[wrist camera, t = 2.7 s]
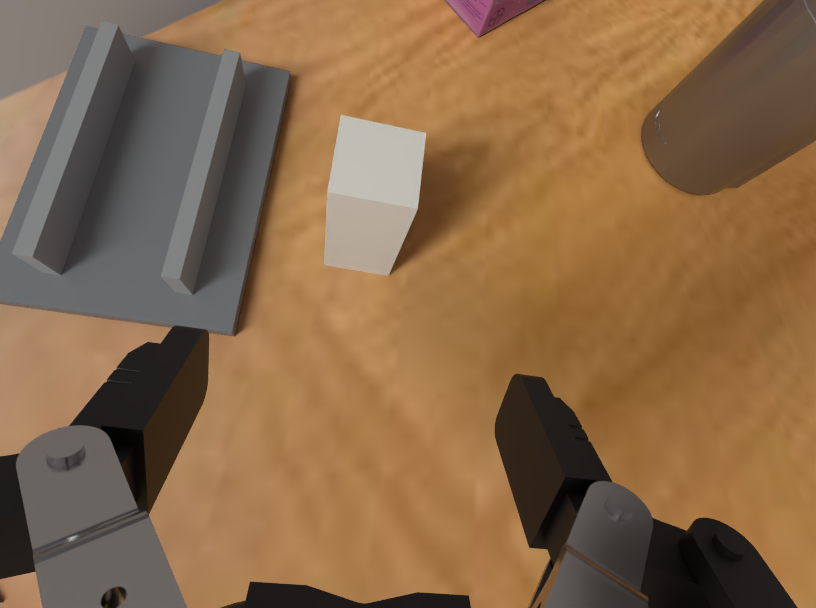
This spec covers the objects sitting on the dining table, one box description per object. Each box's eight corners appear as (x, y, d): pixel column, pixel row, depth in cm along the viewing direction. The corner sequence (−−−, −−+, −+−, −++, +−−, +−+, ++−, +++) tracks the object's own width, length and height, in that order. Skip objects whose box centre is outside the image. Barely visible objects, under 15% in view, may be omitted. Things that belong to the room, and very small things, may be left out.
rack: (290, 81, 36) (287, 38, 32) (234, 336, 30) (222, 320, 26) (92, 37, 34) (64, -14, 30) (-11, 302, 28) (-62, 280, 24)
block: (395, 218, 34) (426, 132, 25) (388, 275, 33) (417, 208, 24) (333, 206, 34) (341, 114, 24) (324, 265, 32) (327, 191, 23)
